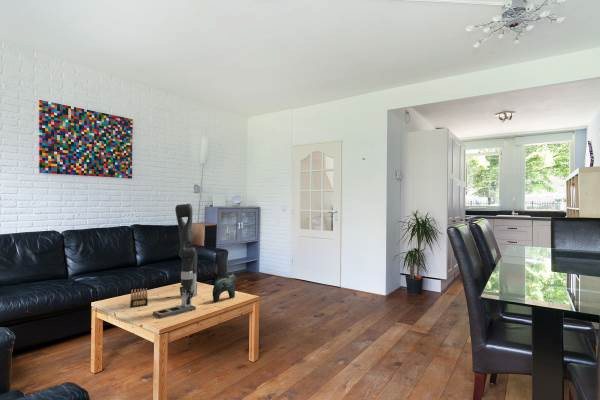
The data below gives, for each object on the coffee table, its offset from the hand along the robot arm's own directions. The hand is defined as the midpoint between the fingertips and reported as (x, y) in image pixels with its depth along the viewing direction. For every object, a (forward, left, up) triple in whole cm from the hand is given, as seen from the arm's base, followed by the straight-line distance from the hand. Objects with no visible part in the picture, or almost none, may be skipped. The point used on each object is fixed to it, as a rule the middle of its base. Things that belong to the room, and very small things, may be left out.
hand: (186, 303), depth 220 cm
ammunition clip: (+18, -29, -4) cm, 34 cm away
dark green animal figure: (-32, -1, -4) cm, 32 cm away
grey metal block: (0, 0, -4) cm, 4 cm away
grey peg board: (+8, 0, -4) cm, 9 cm away
